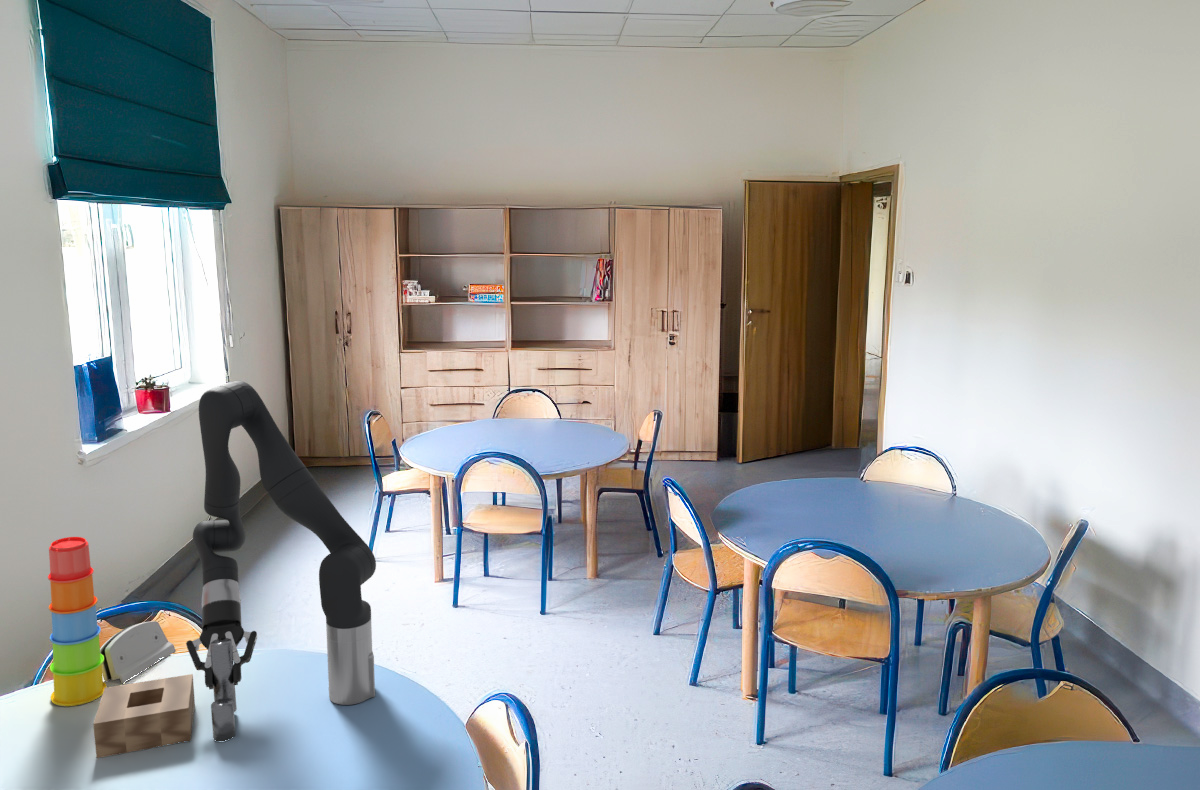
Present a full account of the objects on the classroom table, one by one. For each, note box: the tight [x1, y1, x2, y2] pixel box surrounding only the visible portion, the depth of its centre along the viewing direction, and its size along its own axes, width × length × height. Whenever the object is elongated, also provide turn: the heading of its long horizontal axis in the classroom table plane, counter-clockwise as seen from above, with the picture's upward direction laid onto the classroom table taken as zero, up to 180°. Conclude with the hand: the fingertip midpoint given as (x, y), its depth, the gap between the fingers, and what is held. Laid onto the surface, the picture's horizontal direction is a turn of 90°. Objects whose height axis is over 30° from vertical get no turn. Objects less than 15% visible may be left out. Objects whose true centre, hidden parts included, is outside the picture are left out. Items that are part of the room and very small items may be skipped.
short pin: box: [210, 698, 236, 742], centre depth 167 cm, size 4×4×7 cm
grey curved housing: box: [100, 620, 176, 684], centre depth 194 cm, size 17×5×10 cm, turn 166°
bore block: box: [92, 673, 196, 759], centre depth 168 cm, size 16×14×7 cm
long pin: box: [210, 638, 237, 713], centre depth 172 cm, size 4×4×15 cm
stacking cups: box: [47, 536, 108, 707], centre depth 178 cm, size 10×10×35 cm
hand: (223, 685), depth 171 cm, fingers closed on long pin, 4 cm apart
